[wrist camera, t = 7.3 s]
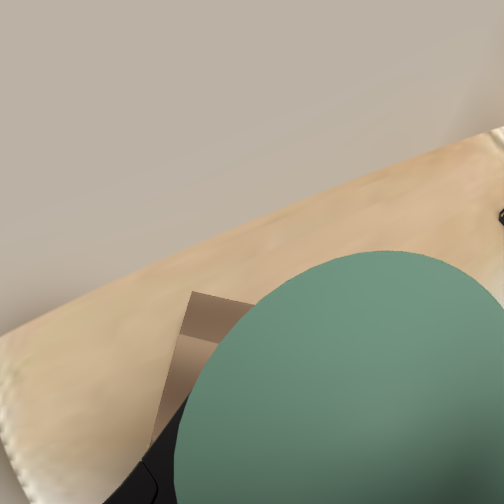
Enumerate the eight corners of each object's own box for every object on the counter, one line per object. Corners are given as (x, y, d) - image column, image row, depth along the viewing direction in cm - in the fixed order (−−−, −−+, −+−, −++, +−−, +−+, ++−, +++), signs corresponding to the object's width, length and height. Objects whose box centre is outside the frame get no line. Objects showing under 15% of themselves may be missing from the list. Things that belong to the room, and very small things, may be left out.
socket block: (330, 494, 13) (351, 512, 10) (161, 465, 14) (142, 479, 10) (358, 343, 18) (383, 327, 15) (201, 313, 19) (192, 291, 16)
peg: (305, 457, 11) (490, 559, 1) (224, 444, 12) (143, 589, 1) (319, 383, 13) (526, 281, 3) (242, 370, 14) (236, 216, 3)
